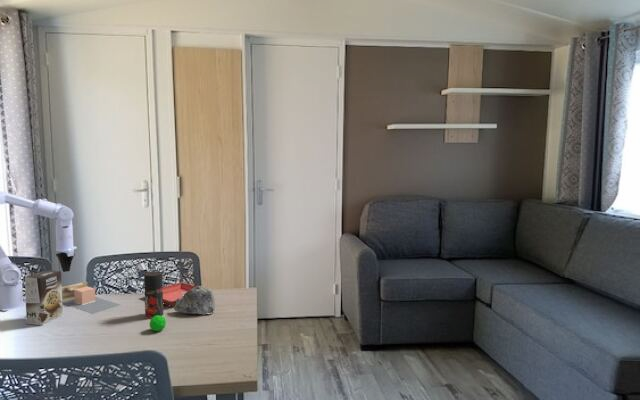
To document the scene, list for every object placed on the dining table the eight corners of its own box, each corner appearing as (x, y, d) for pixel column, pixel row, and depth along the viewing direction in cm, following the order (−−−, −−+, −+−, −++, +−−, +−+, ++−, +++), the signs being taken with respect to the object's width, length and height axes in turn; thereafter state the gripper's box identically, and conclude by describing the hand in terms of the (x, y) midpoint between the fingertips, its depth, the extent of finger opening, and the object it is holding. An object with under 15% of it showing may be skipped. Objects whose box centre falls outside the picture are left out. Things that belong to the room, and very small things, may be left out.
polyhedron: (150, 334, 138) (150, 319, 138) (148, 328, 142) (148, 314, 142) (167, 331, 140) (166, 317, 140) (165, 326, 145) (164, 312, 144)
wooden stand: (55, 300, 166) (55, 287, 166) (83, 293, 175) (83, 280, 175) (64, 303, 163) (63, 290, 162) (92, 295, 172) (92, 283, 172)
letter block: (74, 302, 165) (74, 289, 164) (87, 298, 169) (87, 286, 169) (82, 305, 162) (81, 291, 162) (95, 301, 167) (94, 288, 166)
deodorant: (166, 313, 156) (165, 272, 155) (155, 319, 151) (154, 276, 149) (153, 311, 158) (152, 270, 157) (141, 316, 153) (140, 274, 151)
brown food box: (42, 326, 143) (40, 278, 142) (26, 324, 145) (23, 276, 143) (64, 316, 152) (62, 270, 151) (48, 314, 154) (46, 269, 152)
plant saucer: (181, 289, 186) (181, 281, 185) (210, 297, 175) (210, 289, 175) (143, 300, 171) (142, 292, 171) (171, 310, 160) (171, 301, 160)
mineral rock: (171, 313, 156) (171, 286, 155) (193, 304, 166) (193, 279, 165) (199, 320, 150) (198, 292, 149) (220, 311, 160) (219, 284, 159)
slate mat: (54, 301, 167) (54, 300, 167) (82, 293, 176) (82, 292, 176) (92, 314, 154) (92, 313, 154) (121, 305, 163) (121, 304, 163)
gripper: (81, 238, 167) (83, 273, 169) (70, 233, 177) (71, 265, 179) (61, 240, 162) (62, 276, 164) (50, 235, 172) (52, 268, 174)
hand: (66, 271), depth 171 cm, fingers closed
